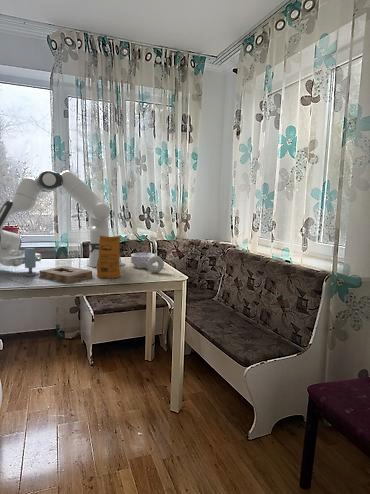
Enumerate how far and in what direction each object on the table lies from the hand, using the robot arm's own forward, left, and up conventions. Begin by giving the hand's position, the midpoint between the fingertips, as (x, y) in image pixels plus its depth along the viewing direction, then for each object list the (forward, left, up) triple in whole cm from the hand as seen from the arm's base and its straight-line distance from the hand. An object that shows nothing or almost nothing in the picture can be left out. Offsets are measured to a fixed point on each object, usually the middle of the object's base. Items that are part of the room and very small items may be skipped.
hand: (31, 261), depth 174 cm
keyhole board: (-15, +10, -8) cm, 20 cm away
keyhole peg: (0, -1, -8) cm, 8 cm away
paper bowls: (-64, +3, -8) cm, 64 cm away
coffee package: (-35, +18, -8) cm, 40 cm away
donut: (-62, +21, -8) cm, 66 cm away
